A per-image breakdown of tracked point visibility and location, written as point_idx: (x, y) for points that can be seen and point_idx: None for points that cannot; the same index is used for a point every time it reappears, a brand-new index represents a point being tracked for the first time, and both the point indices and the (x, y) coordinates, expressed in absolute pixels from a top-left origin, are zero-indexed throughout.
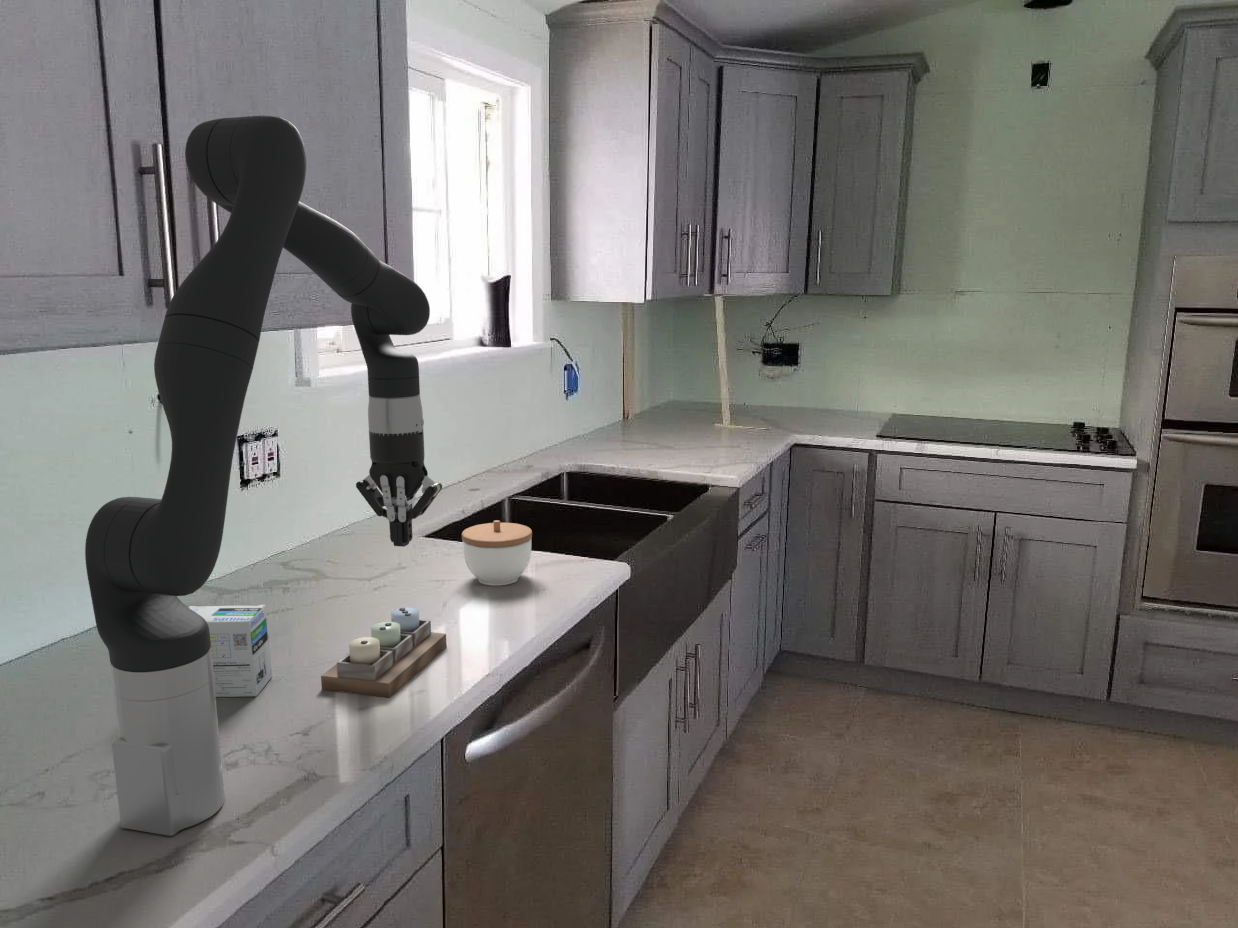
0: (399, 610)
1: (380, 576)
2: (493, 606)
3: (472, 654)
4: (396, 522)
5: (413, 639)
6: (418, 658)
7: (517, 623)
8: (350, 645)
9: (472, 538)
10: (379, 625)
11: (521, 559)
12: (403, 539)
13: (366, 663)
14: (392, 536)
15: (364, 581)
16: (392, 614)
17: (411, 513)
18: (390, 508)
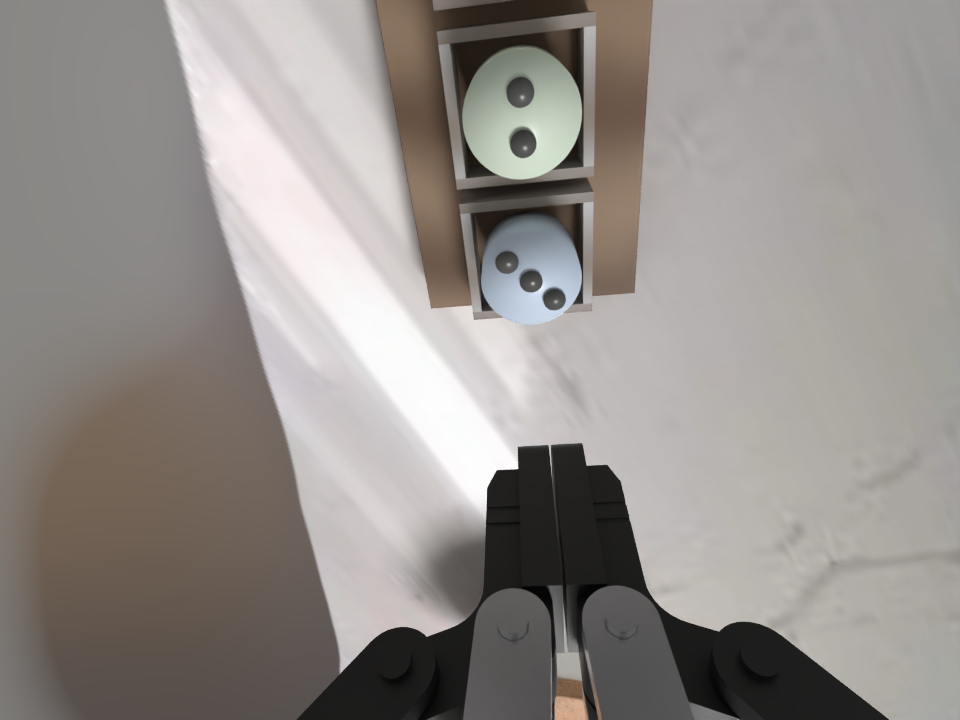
0: (560, 290)
1: (813, 583)
2: (468, 513)
3: (336, 265)
4: (567, 582)
5: (463, 196)
6: (395, 106)
7: (358, 453)
8: None
9: (578, 702)
10: (555, 125)
11: None
12: (519, 484)
13: None
14: (604, 494)
15: (844, 556)
16: (565, 248)
17: (409, 676)
18: (642, 716)
